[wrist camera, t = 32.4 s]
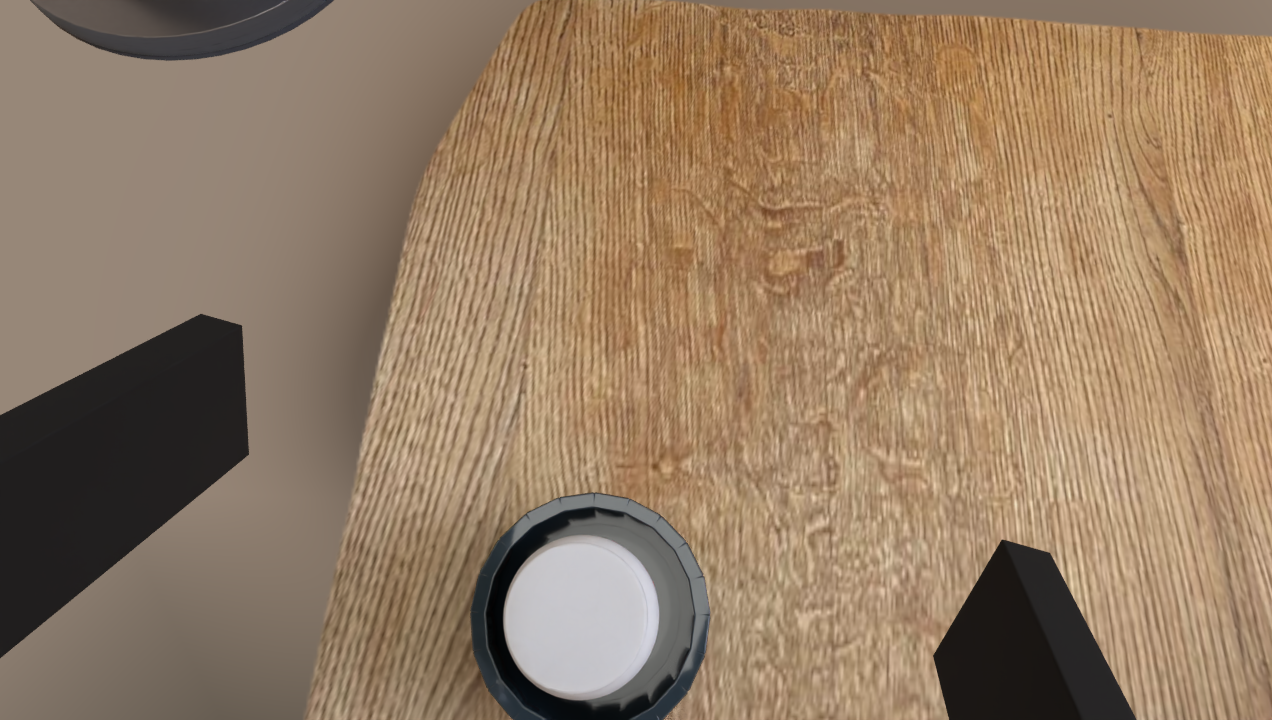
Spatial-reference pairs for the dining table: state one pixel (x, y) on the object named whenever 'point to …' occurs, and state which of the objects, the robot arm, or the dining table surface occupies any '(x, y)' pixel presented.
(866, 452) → the dining table surface
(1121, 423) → the dining table surface
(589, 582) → the pill bottle
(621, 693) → the tube
